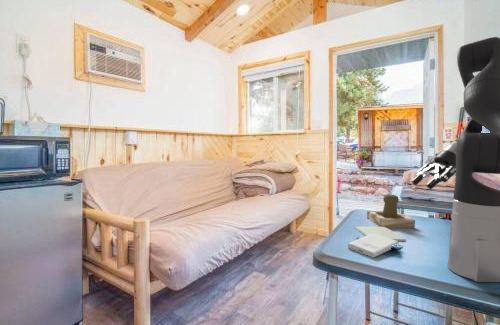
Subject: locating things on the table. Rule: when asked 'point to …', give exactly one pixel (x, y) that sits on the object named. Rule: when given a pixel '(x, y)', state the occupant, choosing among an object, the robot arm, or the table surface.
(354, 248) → the external hard drive
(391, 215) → the cork
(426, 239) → the table surface
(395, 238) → the mat
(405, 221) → the holder
